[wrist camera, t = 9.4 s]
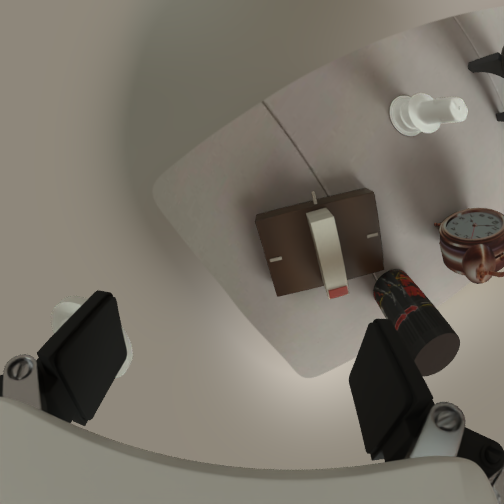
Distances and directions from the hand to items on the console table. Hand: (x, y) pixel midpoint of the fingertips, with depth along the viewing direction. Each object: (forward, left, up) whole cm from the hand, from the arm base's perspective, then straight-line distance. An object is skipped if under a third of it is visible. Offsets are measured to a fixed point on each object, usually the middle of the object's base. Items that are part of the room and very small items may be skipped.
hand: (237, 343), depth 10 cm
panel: (+6, -6, -26) cm, 27 cm away
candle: (+21, +7, -26) cm, 34 cm away
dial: (+6, -6, -23) cm, 24 cm away
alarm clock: (+26, -9, -26) cm, 38 cm away
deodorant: (+15, -16, -26) cm, 34 cm away
